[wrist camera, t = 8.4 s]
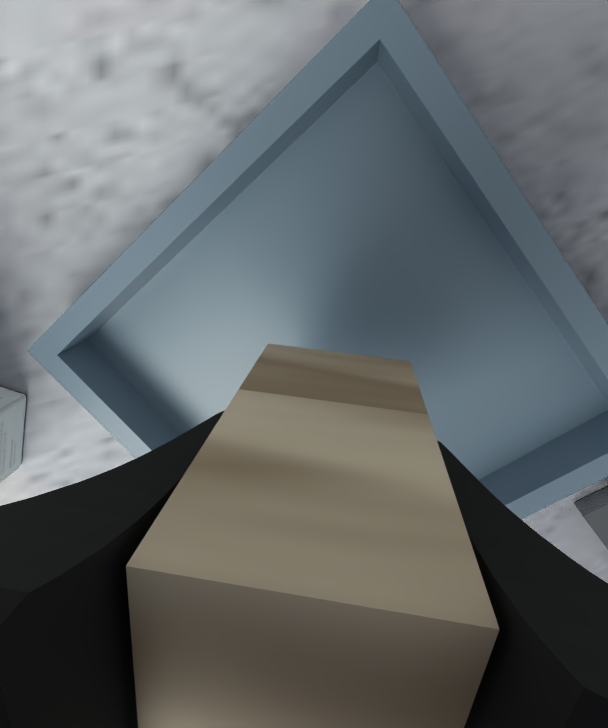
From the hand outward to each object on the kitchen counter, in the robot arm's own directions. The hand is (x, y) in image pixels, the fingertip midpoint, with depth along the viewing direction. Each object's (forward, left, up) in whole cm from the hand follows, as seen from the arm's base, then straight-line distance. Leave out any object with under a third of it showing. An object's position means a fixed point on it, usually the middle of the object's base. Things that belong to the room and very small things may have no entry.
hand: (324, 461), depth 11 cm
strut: (0, 0, -2) cm, 2 cm away
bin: (0, 0, -7) cm, 7 cm away
